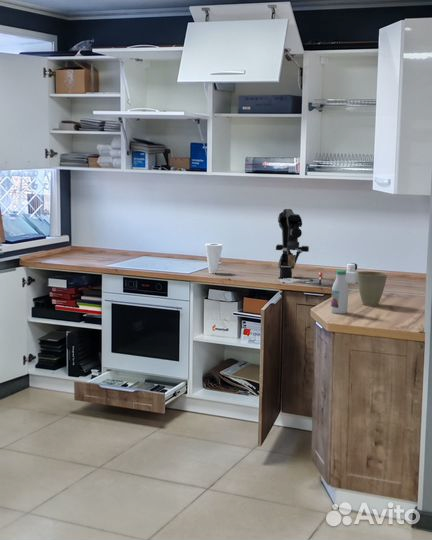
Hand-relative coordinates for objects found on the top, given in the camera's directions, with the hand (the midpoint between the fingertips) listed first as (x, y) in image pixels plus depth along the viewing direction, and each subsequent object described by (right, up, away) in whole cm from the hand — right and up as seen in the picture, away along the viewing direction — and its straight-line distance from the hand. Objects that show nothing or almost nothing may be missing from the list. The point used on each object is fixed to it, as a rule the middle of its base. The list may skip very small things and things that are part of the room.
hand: (291, 262), depth 451 cm
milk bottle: (+14, -24, -83) cm, 88 cm away
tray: (0, -12, +2) cm, 12 cm away
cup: (-46, -7, +28) cm, 54 cm away
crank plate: (+13, -13, -3) cm, 18 cm away
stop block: (0, -2, 0) cm, 2 cm away
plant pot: (+33, -22, -60) cm, 72 cm away
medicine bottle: (+35, -12, +6) cm, 38 cm away
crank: (+13, -11, -1) cm, 17 cm away
